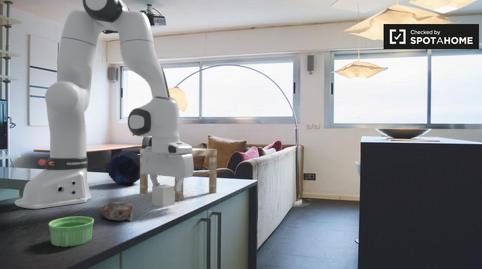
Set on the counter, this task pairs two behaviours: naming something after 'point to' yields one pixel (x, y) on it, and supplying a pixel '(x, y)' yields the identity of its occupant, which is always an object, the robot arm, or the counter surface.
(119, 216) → the mineral rock
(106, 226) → the counter surface
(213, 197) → the counter surface
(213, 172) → the wooden stool
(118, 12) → the robot arm
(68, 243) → the ramekin
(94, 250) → the counter surface
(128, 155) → the decorative orb
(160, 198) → the stone block
